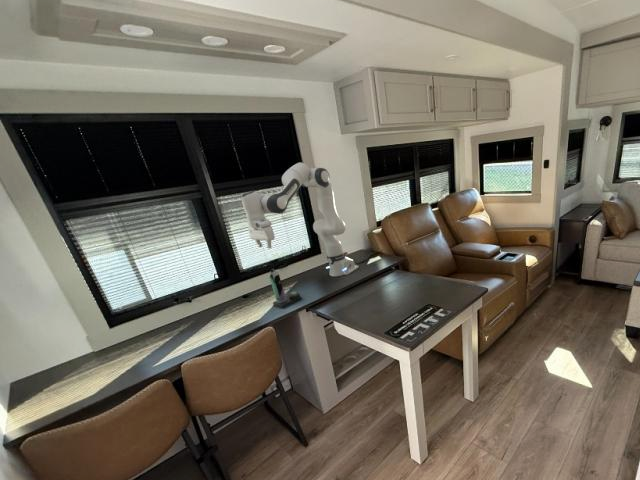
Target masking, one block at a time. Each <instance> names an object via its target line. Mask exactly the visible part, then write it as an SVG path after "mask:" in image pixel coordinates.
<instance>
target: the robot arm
mask: <svg viewBox="0 0 640 480" xmlns="http://www.w3.org/2000/svg"><path fill="white" fill-rule="evenodd" d="M281 184H282V185H283V188H282V190H281V191H280V192H278V193H274V194H262V193H259V192H257V191H256V190H250V191H246V192H244V193H242V194H241V204H242V207H243V210H244V213H245V215H246V221H247V223H248V226H247V231H248V235H249V238H250V239H251V240H255V243H256V245H257V247H258V248H263V247H264V246H263V243H262V242H261V241H265V242H266V247H267V249H272V248H273V247H272V241H274V240H275V238H276V237H275V232H274V229H273V227H272V221H271V220H270V219H268V218H266V216H265V214H279V215H280V214H283V213H285V212H286V210H287V208H288V206H289V204H290V201H291V200H292V199H293V198H294V197H295V195H296V194H297V193H298V192H299V190H300V188H301V187H304V188H315V190H316V202H317V208H318V211H319V212H320V213H321V214H322V216H323V218H319V219H317V220H315V221H314V222H313V224H312V229H313V232H315V234H317V235H318V236H319V238H320V239H321V241H322V243H323V245H324V248H325V252H326V259H327V263H328V266H326V267H325V269H329V276H330V277H340V276H347V275H350V274H351V273H353V272H355V271H357V270H358V269H359V268H360V266H359V265H360V264H362V263H364V262H366V261H367V260H368V259H369V258H370V257H371V256H372V255H375V254H377V253H378V252H376V251H375V252H372V253H370V254H369V255H367V257H366V258H365V259H363V260H362V261H360V262H357V263H356V260H355V259H354V258H351V257H348V255H349V253H348V251H343V247H342V246H343V245H342V242H341V241H340V239H338V238H337V236H340V235H343V234H344V233H345V231H346V223H345V221H344V220H342V219H341V217H340V216H339V213H338V212H337V207H336V202H335V201H336V200H335V193H334V189H333V186H332V185H333V184H332V183H331V177H330V173H329V171H328V170H327V169H326V168H324V167H312V168H309V166H308V165H307V164H306V163H304V162H297V163H295V164H294V165H292V166H291V167H289V168H288V169H286V171H285V172H284V173H283V174H282V176H281Z"/></svg>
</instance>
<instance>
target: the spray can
mask: <svg viewBox="0 0 640 480" xmlns="http://www.w3.org/2000/svg"><path fill="white" fill-rule="evenodd" d="M268 278H269V281H270V284H271V287H272V290H273V293H274V296H275V301H277V302H278V303H281V302H284V301H286V300H287V299H286V296H287V295H286V293H285V290H284V286H283V283H282V280H281V276H280V273H279V271H277V270H275V269H274V268H271V269H270V271H269V273H268Z"/></svg>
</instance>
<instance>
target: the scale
mask: <svg viewBox="0 0 640 480" xmlns="http://www.w3.org/2000/svg"><path fill="white" fill-rule="evenodd" d="M296 293H297V295H295V296H291V293H289V294H288V295H285V296H286V299H287V300H286V301H284V302H281V303H278V302H277V300H275V301H273V302H272V305H273V307H276V308H280V309H283V310H284V309H286V308H287V307H289V306H291V305H294V304H296V303H298V302H300V301H301V300H302V296H301V293H300V292H298V291H296Z"/></svg>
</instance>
